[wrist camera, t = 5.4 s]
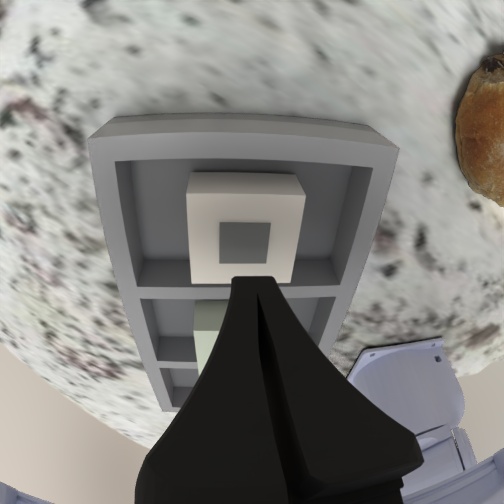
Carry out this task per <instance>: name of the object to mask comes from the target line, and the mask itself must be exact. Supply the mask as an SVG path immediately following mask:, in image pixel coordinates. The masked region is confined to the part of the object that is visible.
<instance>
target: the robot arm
mask: <svg viewBox="0 0 504 504" xmlns="http://www.w3.org/2000/svg"><path fill="white" fill-rule="evenodd" d="M444 342H445V340H444V338H437V339H431V340H426V341H420V342H414V343H408V344H401V345H395V346H388V347H381V348H373V349H366V350H364V351H363V352H362V353H361V355H360V357H359V358H358V360H357V362H356V364H355V366H354V367H353V369H352V371H351V372H350V374H349V376H348V378H347V379H346V378H345V377H344V376H343V375H342V374H341V373H340V372H339V371H338V370H337V368H336V367H335V366H334V365H333V364H332V363H331V362H330V361H329V359H328V358H327V357H326V356H325V355H324V354H323V352H322V351H321V350H320V349H319V347H318V346H317V345H316V343H315V342H314V341H313V339H312V338H311V337H310V335H309V334H308V333H307V331H306V330H305V328H304V327H303V326H302V324H301V323H300V321H299V319H298V318H297V316H296V315H295V313H294V312H293V310H292V309H291V307H290V305H289V304H288V302H287V300H286V299H285V297H284V295H283V293H282V292H281V290H280V288H279V286H278V284H277V282H276V280H275V278H274V277H273V276H234V277H233V278H232V279H231V292H230V298H229V302H228V306H227V310H226V313H225V316H224V319H223V323H222V326H221V329H220V331H219V334H218V336H217V339H216V341H215V344H214V346H213V349H212V351H211V353H210V356H209V358H208V360H207V362H206V364H205V366H204V368H203V370H202V372H201V374H200V376H199V378H198V380H197V382H196V383H195V385H194V387H193V389H192V391H191V392H190V394H189V396H188V398H187V399H186V401H185V402H184V404H183V406H182V407H181V409H180V410H179V412H178V413H177V415H176V416H175V418H174V419H173V421H172V422H171V424H170V425H169V427H168V428H167V429H166V431H165V432H164V433H163V435H162V436H161V437H160V439H159V440H158V441H157V442H156V444H155V445H154V446H153V448H152V449H151V450H150V452H149V453H148V454H147V455H146V457H145V460H144V462H143V464H142V467H141V469H140V472H139V475H138V478H137V482H136V487H135V504H504V448H503V449H501V450H500V451H498V452H496V453H495V454H494V455H493V456H491V457H489V458H487V459H486V460H484V461H482V462H480V463H478V464H477V461H476V458H475V455H474V452H473V449H472V446H471V444H470V441H469V438H468V436H467V433H466V431H465V429H462V428H460V429H459V427H456V426H457V425H458V424H459V423H460V421H461V419H462V417H463V414H464V396H463V392H462V389H461V387H460V385H459V382H458V380H457V378H456V376H455V374H454V372H453V369H452V367H451V365H450V363H449V361H448V359H447V357H446V355H445V353H444V351H443V349H442V347H441V346H442V345H443V343H444ZM452 429H453V433H454V436H455V440H454V437H453V434H452V432H451V430H452ZM455 441H456V443H455ZM456 444H457V446H456ZM457 447H458V448H457ZM0 504H54V503H51V502H47V501H45V500H42V499H39V498H36V497H33V496H30V495H28V494H25V493H23V492H20V491H18V490H16V489H15V488H13V487H11V486H8V485H6V484H4V483H2V482H0Z"/></svg>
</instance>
